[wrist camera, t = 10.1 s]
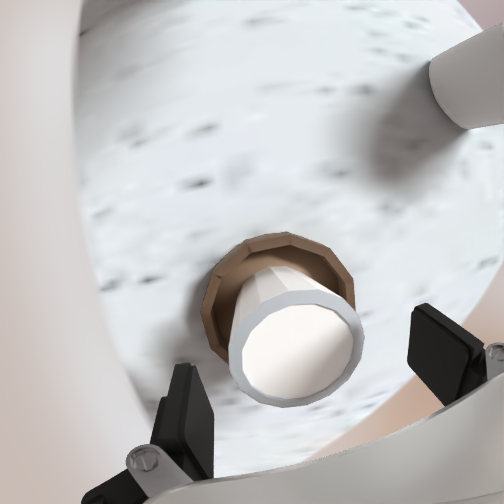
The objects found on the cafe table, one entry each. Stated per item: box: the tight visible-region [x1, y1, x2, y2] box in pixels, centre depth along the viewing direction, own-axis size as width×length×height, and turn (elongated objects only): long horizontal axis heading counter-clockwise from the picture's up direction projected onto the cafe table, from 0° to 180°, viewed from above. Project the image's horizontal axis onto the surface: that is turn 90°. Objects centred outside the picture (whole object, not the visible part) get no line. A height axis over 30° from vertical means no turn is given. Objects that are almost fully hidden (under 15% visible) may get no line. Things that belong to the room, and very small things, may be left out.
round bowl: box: [201, 232, 356, 364], centre depth 19 cm, size 10×10×2 cm
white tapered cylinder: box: [228, 266, 365, 408], centre depth 16 cm, size 7×7×7 cm
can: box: [429, 22, 504, 129], centre depth 12 cm, size 8×8×12 cm
